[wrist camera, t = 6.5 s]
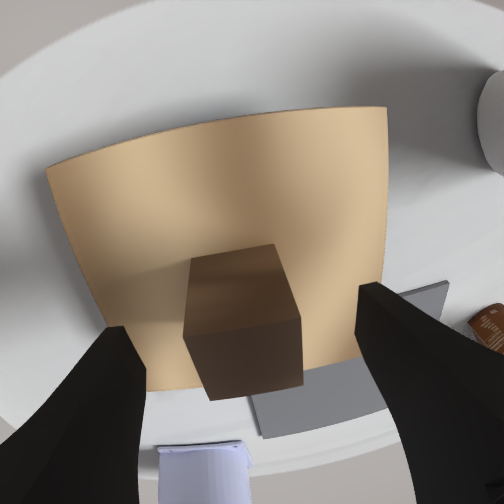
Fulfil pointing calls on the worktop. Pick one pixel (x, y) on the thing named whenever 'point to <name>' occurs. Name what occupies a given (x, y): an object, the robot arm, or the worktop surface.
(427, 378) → the robot arm
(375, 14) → the worktop surface
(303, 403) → the mat
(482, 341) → the food container
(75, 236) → the lid
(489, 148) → the can
